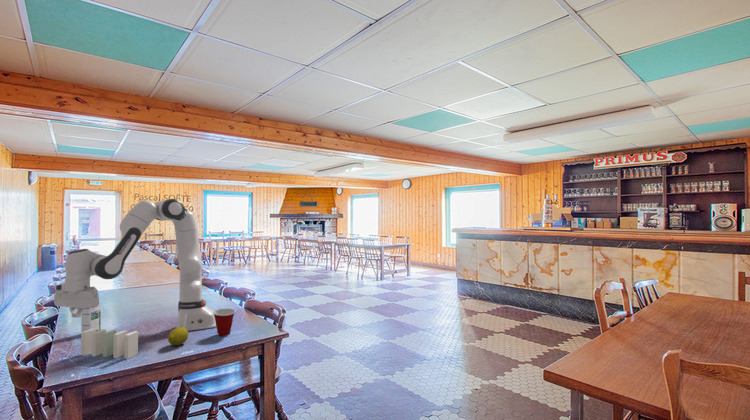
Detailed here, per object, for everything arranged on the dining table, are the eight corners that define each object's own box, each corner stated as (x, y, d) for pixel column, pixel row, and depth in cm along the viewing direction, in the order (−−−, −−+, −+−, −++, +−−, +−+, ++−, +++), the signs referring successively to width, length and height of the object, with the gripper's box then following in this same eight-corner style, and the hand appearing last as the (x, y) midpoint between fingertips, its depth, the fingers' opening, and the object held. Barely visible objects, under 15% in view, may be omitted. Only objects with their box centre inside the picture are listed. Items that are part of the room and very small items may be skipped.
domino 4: (113, 357, 155) (113, 334, 155) (123, 353, 160) (123, 330, 160) (116, 358, 155) (117, 334, 155) (126, 353, 160) (127, 330, 160)
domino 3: (116, 352, 161) (116, 330, 161) (106, 357, 156) (106, 333, 156) (112, 352, 161) (113, 329, 161) (102, 356, 156) (102, 333, 156)
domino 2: (91, 356, 157) (92, 332, 157) (102, 351, 162) (102, 329, 162) (95, 356, 157) (95, 333, 157) (105, 352, 162) (105, 329, 162)
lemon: (180, 340, 177) (180, 324, 177) (193, 342, 175) (193, 325, 175) (161, 348, 166) (161, 330, 167) (175, 350, 164) (175, 332, 164)
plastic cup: (219, 339, 178) (219, 314, 179) (208, 334, 185) (209, 311, 186) (239, 333, 187) (239, 310, 187) (229, 329, 194) (229, 307, 194)
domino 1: (80, 355, 158) (81, 332, 158) (91, 351, 163) (92, 328, 163) (84, 355, 158) (84, 332, 158) (95, 351, 163) (95, 329, 163)
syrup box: (90, 335, 185) (90, 306, 185) (80, 334, 186) (81, 306, 186) (100, 332, 190) (101, 304, 190) (91, 331, 191) (91, 303, 192)
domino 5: (124, 358, 154) (124, 335, 154) (134, 354, 159) (134, 331, 159) (128, 358, 154) (128, 335, 154) (137, 354, 159) (138, 331, 159)
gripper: (103, 285, 163) (102, 316, 163) (65, 283, 167) (64, 314, 166) (90, 288, 157) (89, 320, 157) (51, 286, 161) (50, 317, 160)
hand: (76, 317), depth 161 cm, fingers closed
